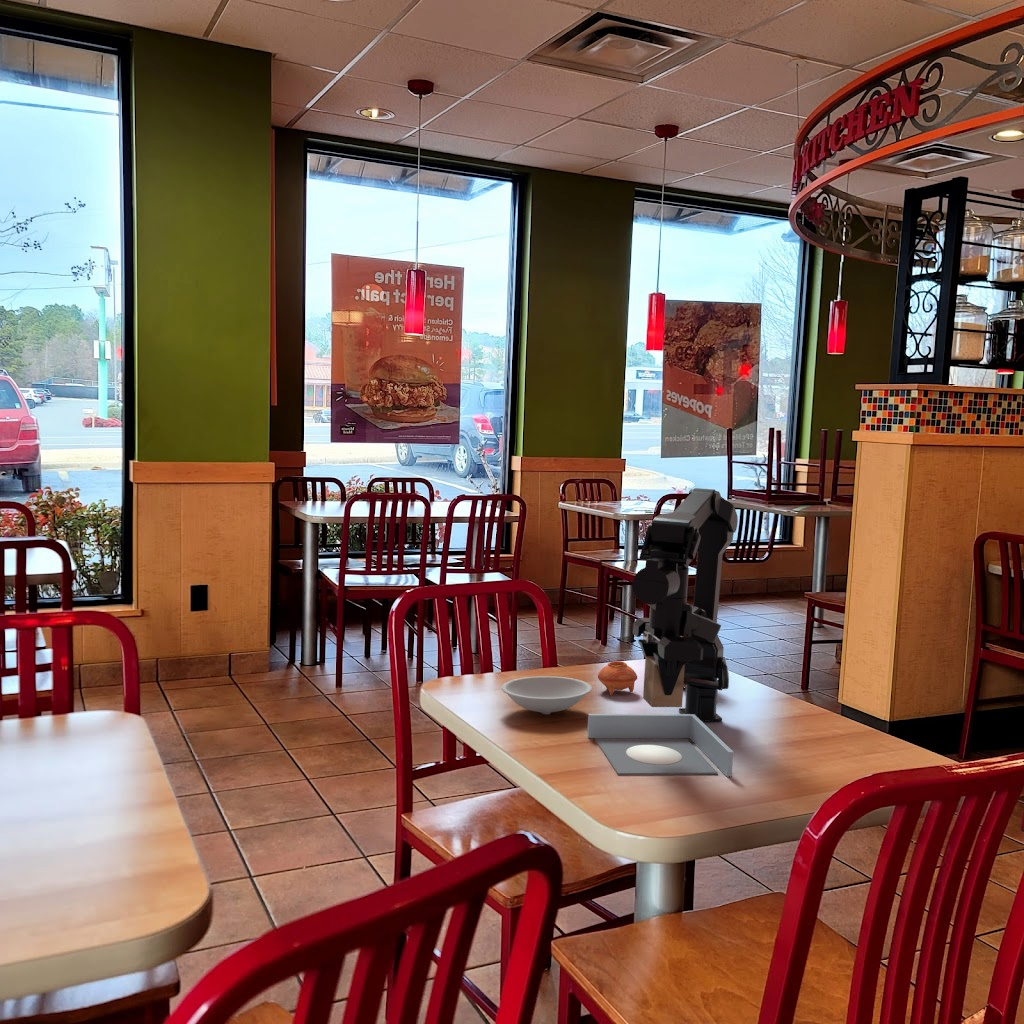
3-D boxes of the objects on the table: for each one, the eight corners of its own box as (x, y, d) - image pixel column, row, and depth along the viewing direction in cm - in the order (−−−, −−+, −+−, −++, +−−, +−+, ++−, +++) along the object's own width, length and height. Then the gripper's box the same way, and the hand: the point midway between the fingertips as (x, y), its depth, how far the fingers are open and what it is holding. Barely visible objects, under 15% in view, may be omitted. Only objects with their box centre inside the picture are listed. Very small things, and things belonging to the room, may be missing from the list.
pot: (633, 699, 188) (626, 665, 188) (596, 702, 191) (589, 668, 191) (645, 688, 195) (639, 655, 195) (609, 691, 198) (603, 659, 198)
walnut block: (643, 698, 158) (645, 656, 157) (672, 698, 158) (674, 656, 158) (651, 707, 153) (654, 664, 152) (682, 707, 153) (684, 664, 153)
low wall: (587, 736, 165) (588, 713, 165) (692, 736, 168) (694, 714, 167) (613, 777, 146) (614, 752, 146) (731, 776, 149) (733, 751, 149)
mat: (595, 740, 163) (595, 737, 163) (685, 740, 165) (685, 737, 165) (617, 775, 147) (618, 772, 147) (717, 774, 150) (717, 771, 150)
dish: (526, 731, 166) (527, 702, 166) (485, 708, 179) (486, 681, 178) (607, 718, 176) (608, 691, 175) (562, 697, 188) (564, 672, 187)
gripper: (738, 607, 146) (731, 707, 147) (697, 586, 164) (691, 675, 166) (668, 606, 144) (661, 707, 146) (634, 584, 163) (629, 674, 164)
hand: (662, 690), depth 155 cm, fingers closed on walnut block, 5 cm apart
